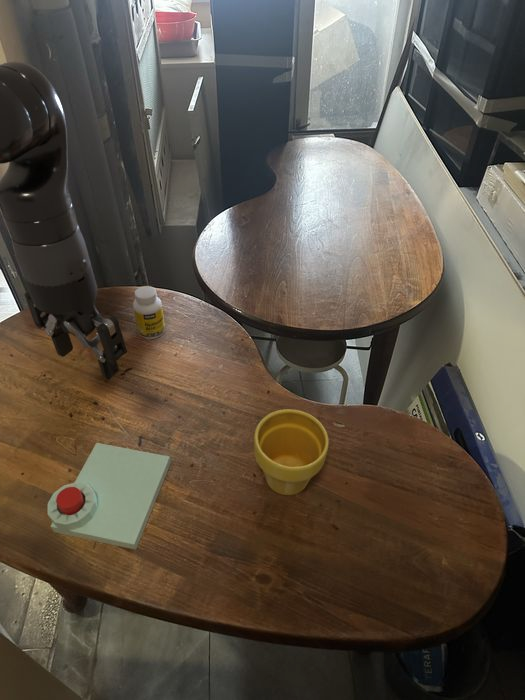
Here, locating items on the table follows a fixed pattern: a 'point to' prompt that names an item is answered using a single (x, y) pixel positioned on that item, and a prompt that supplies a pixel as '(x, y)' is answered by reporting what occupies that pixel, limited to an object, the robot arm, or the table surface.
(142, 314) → the supplement bottle
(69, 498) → the button
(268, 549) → the table surface
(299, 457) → the flower pot
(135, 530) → the pale green flat piece
